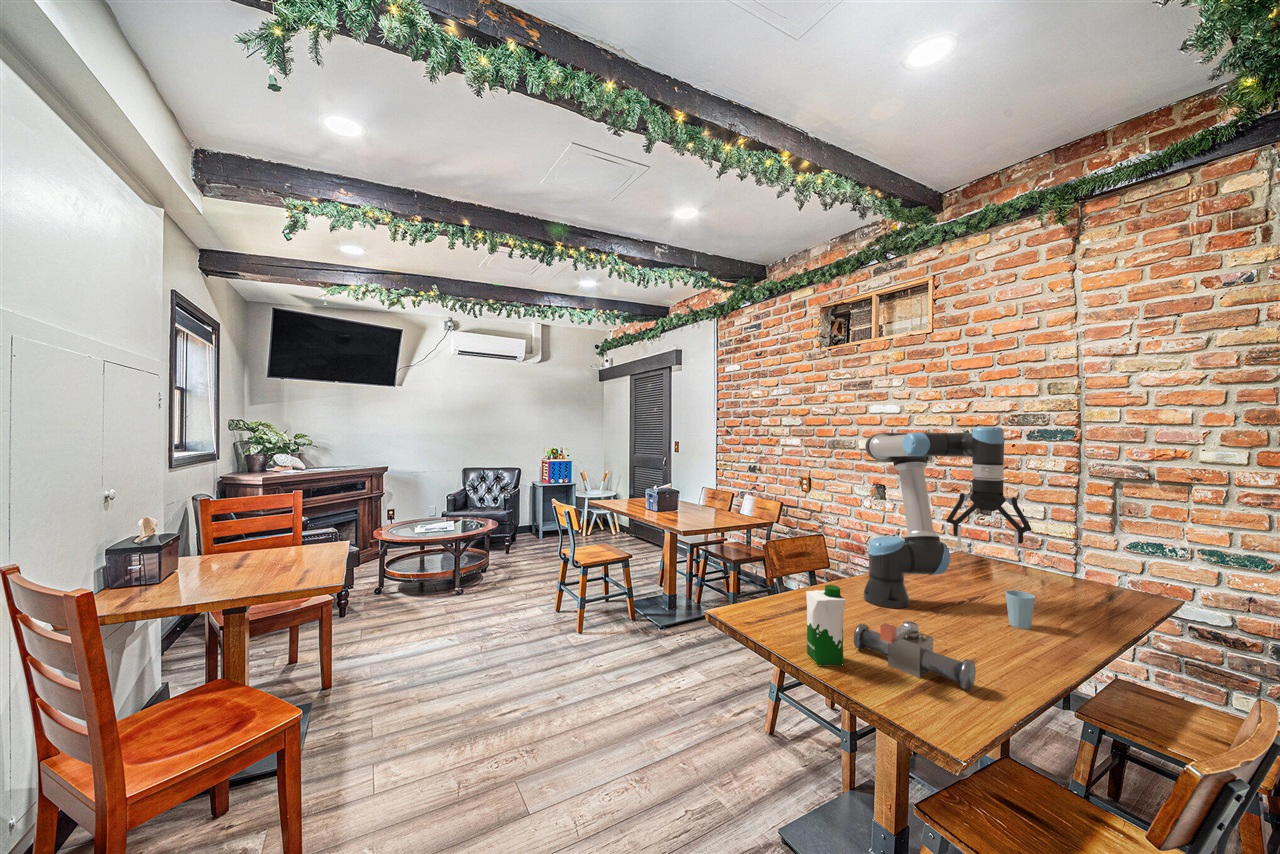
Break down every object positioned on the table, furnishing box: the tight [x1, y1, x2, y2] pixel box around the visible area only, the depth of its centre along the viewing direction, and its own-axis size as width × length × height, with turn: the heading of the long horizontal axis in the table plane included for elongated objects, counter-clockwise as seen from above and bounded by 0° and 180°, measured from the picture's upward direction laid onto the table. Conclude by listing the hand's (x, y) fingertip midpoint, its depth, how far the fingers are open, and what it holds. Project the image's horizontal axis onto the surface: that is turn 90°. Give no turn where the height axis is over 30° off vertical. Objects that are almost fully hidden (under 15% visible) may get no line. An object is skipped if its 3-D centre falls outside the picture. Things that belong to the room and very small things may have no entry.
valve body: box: [853, 623, 977, 692], centre depth 129 cm, size 28×8×10 cm, turn 37°
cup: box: [1005, 589, 1036, 630], centre depth 157 cm, size 8×8×10 cm
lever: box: [879, 620, 919, 644], centre depth 125 cm, size 15×4×4 cm, turn 127°
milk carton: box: [805, 584, 846, 666], centre depth 132 cm, size 9×9×20 cm
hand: (986, 550), depth 142 cm, fingers open, 13 cm apart
